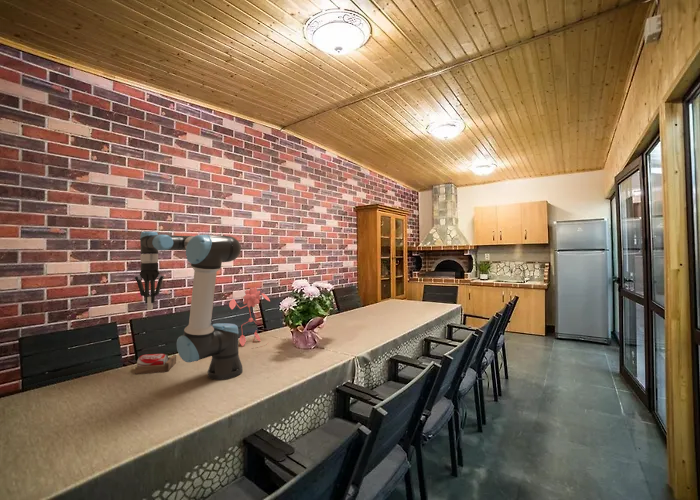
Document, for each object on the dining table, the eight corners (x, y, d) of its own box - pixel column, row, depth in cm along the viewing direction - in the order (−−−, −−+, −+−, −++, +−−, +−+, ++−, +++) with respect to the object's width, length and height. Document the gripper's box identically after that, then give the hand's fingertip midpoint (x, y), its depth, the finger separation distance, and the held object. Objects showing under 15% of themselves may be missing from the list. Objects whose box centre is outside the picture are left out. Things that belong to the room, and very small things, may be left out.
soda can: (134, 369, 151) (162, 367, 153) (137, 353, 154) (164, 352, 156) (140, 370, 157) (167, 369, 159) (143, 355, 160) (169, 354, 162)
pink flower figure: (226, 347, 190) (226, 288, 190) (263, 338, 210) (264, 284, 209) (239, 353, 180) (240, 291, 180) (277, 343, 199) (278, 287, 199)
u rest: (168, 371, 153) (168, 363, 153) (135, 374, 150) (135, 365, 150) (176, 362, 165) (176, 355, 165) (145, 365, 161) (145, 357, 161)
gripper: (166, 262, 166) (166, 307, 166) (137, 262, 163) (138, 309, 163) (161, 262, 159) (162, 310, 158) (131, 263, 155) (132, 311, 155)
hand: (150, 309), depth 160 cm, fingers closed
